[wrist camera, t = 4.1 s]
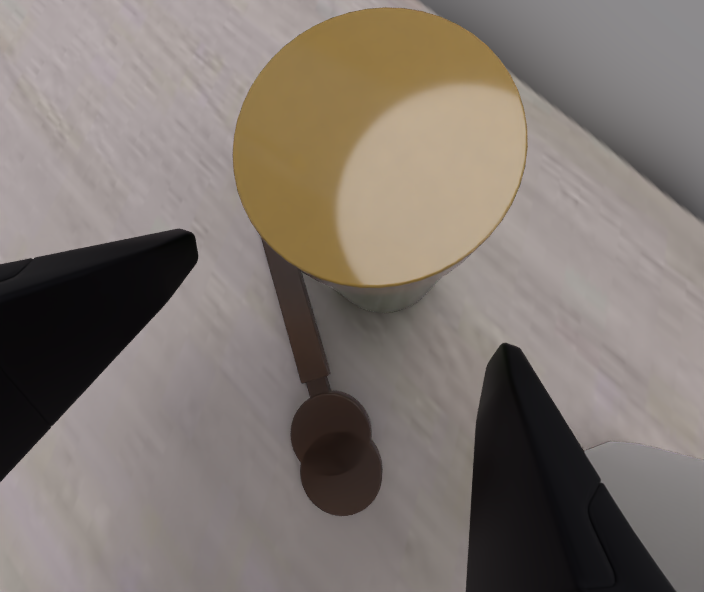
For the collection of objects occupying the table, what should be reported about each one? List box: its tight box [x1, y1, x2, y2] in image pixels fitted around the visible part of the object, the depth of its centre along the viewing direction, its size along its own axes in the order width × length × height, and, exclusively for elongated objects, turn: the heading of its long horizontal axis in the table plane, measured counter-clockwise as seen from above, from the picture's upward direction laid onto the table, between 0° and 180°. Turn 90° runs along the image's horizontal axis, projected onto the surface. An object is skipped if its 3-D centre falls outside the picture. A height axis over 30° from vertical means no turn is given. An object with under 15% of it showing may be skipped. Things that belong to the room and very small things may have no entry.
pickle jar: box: [233, 8, 528, 313], centre depth 14 cm, size 7×7×12 cm
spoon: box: [261, 237, 382, 516], centre depth 20 cm, size 19×4×1 cm, turn 17°
